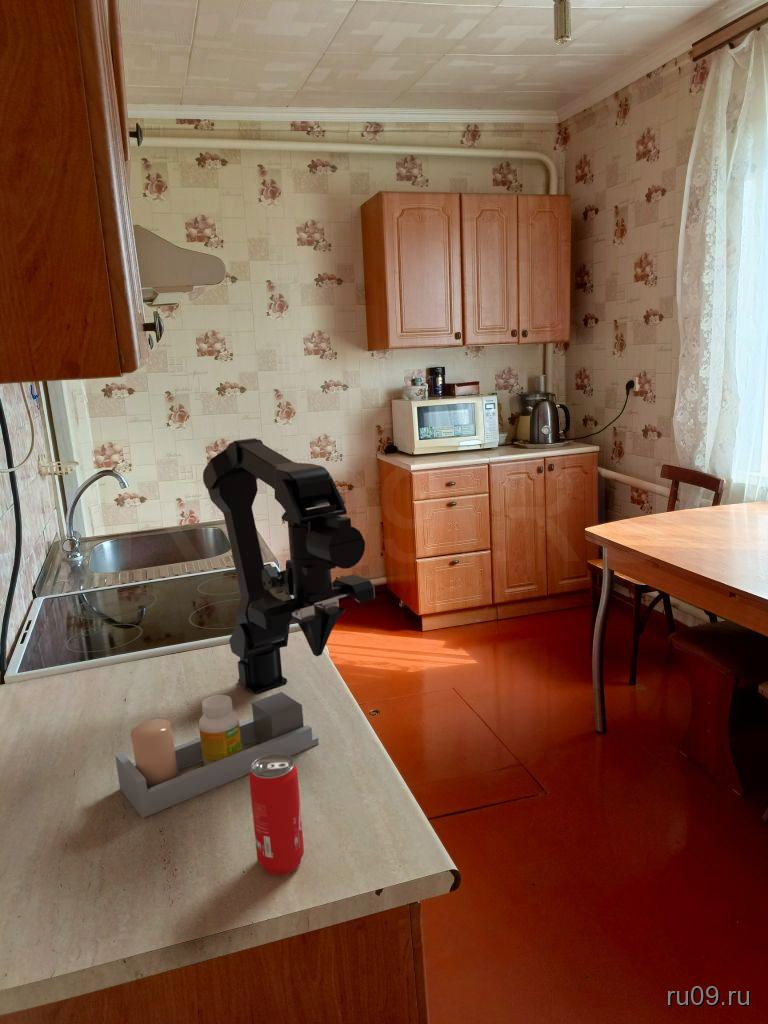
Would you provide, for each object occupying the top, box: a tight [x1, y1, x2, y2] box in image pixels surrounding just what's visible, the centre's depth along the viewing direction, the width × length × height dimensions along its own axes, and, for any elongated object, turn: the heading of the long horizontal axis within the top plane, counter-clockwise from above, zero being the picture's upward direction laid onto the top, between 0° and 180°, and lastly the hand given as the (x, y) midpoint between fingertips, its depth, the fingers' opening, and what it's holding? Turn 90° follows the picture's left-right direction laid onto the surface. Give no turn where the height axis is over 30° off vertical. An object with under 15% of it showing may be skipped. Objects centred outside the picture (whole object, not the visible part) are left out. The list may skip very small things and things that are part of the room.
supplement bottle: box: [198, 694, 243, 767], centre depth 102 cm, size 5×5×10 cm
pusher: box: [251, 691, 304, 744], centre depth 107 cm, size 5×6×6 cm
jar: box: [130, 718, 180, 789], centre depth 97 cm, size 5×5×9 cm
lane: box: [114, 717, 320, 819], centre depth 102 cm, size 26×8×5 cm, turn 128°
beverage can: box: [248, 754, 305, 877], centre depth 81 cm, size 5×5×12 cm
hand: (317, 655), depth 110 cm, fingers closed
